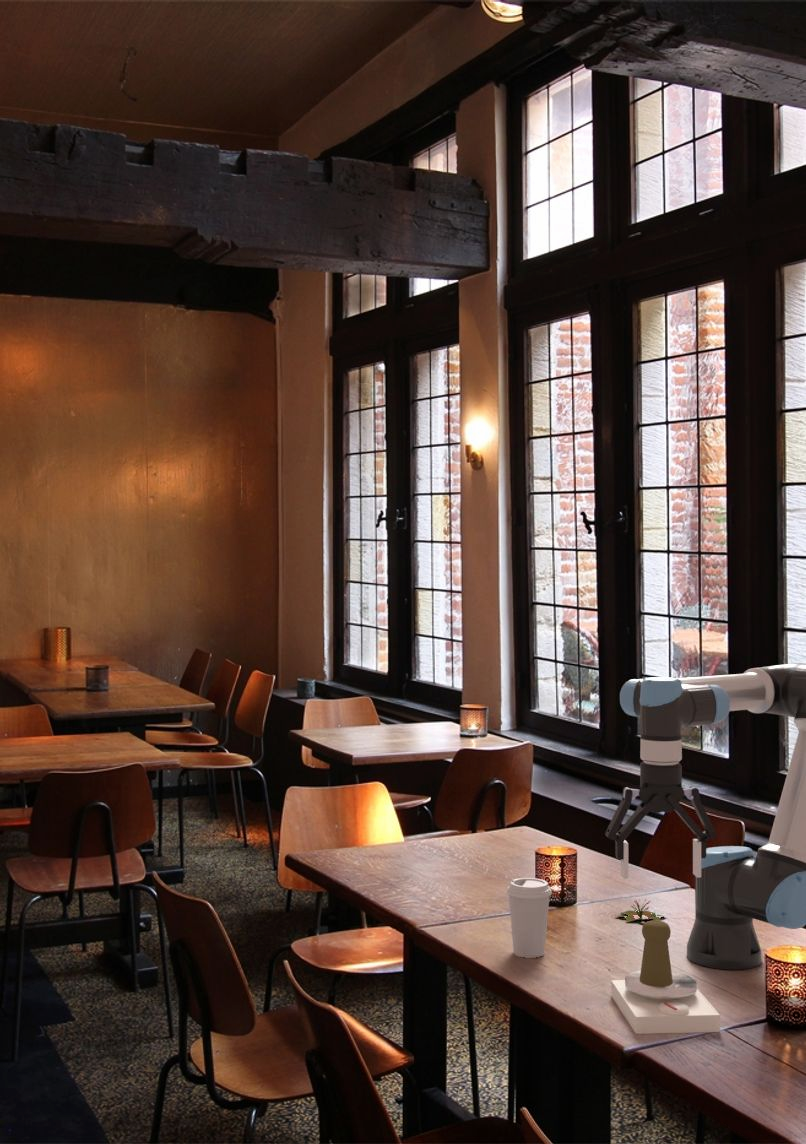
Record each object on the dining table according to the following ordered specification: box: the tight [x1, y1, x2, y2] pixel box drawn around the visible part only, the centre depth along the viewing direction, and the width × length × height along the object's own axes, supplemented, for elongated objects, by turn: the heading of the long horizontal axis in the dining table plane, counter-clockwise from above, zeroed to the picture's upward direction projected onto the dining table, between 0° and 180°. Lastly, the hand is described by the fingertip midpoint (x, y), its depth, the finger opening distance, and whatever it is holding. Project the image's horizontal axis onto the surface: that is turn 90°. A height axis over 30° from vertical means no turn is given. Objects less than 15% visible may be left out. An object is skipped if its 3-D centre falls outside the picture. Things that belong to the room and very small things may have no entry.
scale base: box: [610, 979, 721, 1035], centre depth 227 cm, size 15×19×4 cm
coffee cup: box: [505, 877, 553, 959], centre depth 262 cm, size 10×10×15 cm
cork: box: [640, 920, 673, 987], centre depth 229 cm, size 6×6×11 cm
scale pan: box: [624, 969, 698, 1000], centre depth 229 cm, size 13×13×1 cm
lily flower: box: [616, 899, 662, 925], centre depth 288 cm, size 12×12×5 cm
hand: (660, 876), depth 229 cm, fingers open, 13 cm apart
